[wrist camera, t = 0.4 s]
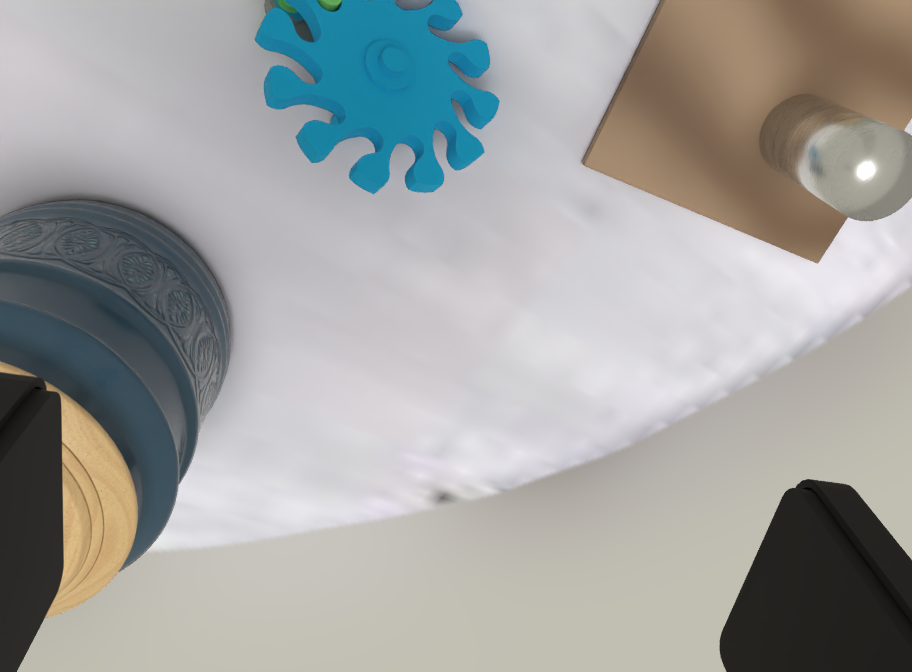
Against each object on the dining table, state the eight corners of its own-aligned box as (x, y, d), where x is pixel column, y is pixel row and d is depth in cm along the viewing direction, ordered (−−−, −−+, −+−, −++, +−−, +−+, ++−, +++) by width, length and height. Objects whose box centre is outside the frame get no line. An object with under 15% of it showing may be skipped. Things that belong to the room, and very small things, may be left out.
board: (824, -334, 30) (831, -339, 30) (1087, -172, 33) (1099, -174, 33) (581, 162, 38) (584, 165, 38) (812, 259, 41) (817, 263, 41)
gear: (546, 80, 35) (417, 235, 30) (478, 139, 40) (358, 279, 35) (353, -126, 32) (181, 9, 28) (307, -36, 38) (154, 91, 33)
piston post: (787, 81, 36) (866, 113, 30) (852, 112, 37) (943, 149, 31) (744, 156, 38) (811, 201, 32) (808, 184, 39) (887, 234, 32)
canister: (104, 136, 36) (-124, 295, 21) (290, 348, 42) (220, 605, 26) (-100, 291, 39) (-439, 536, 23) (99, 472, 44) (-70, 774, 28)
